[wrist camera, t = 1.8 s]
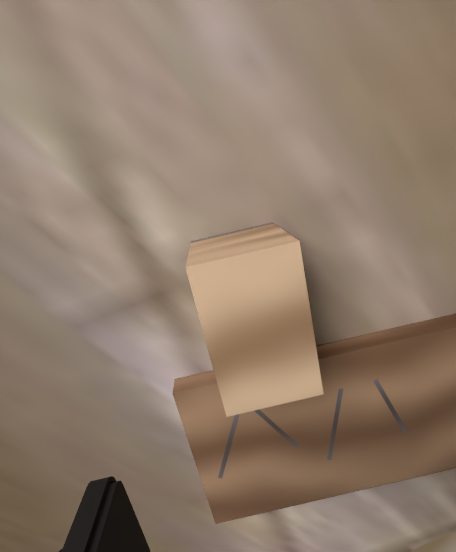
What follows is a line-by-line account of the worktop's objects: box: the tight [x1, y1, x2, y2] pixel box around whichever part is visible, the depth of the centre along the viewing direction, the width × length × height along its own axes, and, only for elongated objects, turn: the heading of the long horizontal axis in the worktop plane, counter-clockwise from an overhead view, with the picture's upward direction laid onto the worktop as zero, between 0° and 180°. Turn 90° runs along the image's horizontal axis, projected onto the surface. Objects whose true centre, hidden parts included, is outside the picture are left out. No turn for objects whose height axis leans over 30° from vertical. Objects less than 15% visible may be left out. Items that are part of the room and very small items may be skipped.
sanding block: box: [186, 223, 324, 417], centre depth 18 cm, size 8×5×6 cm, turn 13°
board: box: [173, 314, 456, 524], centre depth 23 cm, size 12×22×2 cm, turn 103°
